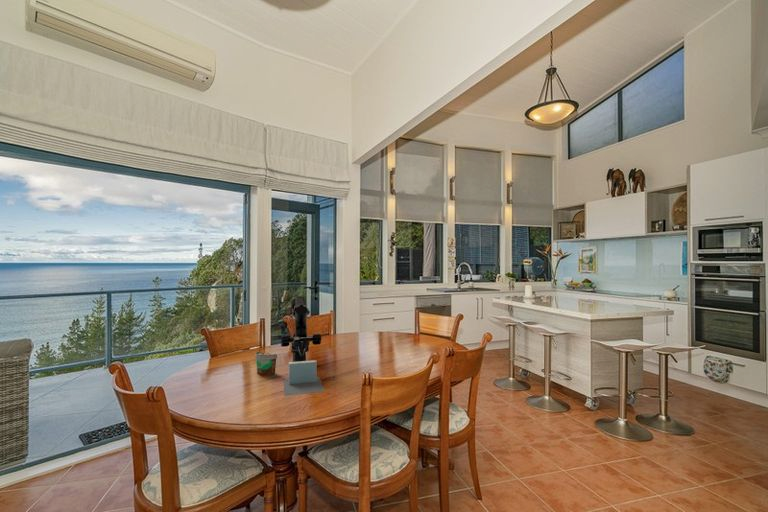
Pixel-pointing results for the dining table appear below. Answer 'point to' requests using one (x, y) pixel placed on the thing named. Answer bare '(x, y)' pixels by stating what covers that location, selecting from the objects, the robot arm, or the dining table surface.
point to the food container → (265, 363)
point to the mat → (302, 387)
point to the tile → (302, 372)
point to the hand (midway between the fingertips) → (301, 355)
